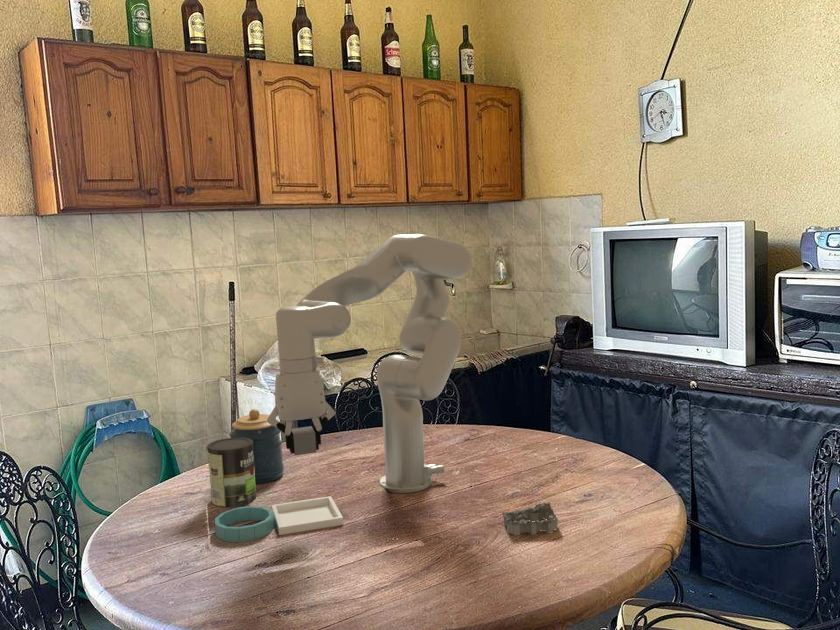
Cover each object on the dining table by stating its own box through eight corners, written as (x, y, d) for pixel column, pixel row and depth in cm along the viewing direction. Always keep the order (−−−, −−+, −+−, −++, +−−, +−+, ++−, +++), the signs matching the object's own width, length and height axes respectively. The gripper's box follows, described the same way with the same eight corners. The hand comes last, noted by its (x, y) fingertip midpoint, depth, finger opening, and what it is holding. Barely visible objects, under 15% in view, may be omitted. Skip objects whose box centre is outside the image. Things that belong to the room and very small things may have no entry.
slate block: (312, 446, 157) (311, 426, 156) (316, 452, 152) (315, 431, 152) (292, 449, 155) (290, 429, 155) (295, 455, 151) (293, 434, 150)
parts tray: (331, 505, 164) (330, 496, 163) (343, 528, 151) (343, 517, 151) (272, 515, 160) (271, 504, 159) (279, 538, 147) (279, 527, 147)
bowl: (270, 518, 158) (269, 503, 157) (276, 539, 147) (275, 522, 146) (215, 527, 154) (214, 511, 154) (217, 549, 143) (216, 532, 143)
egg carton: (552, 520, 152) (552, 501, 151) (560, 535, 144) (559, 515, 144) (501, 522, 152) (501, 503, 151) (506, 537, 144) (506, 517, 144)
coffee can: (264, 495, 172) (260, 437, 171) (245, 511, 162) (241, 450, 161) (224, 493, 174) (219, 436, 173) (203, 510, 164) (198, 449, 163)
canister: (259, 488, 177) (254, 418, 175) (221, 480, 183) (216, 412, 181) (294, 472, 188) (290, 405, 185) (258, 465, 194) (253, 401, 192)
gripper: (334, 358, 158) (339, 439, 160) (255, 366, 152) (261, 450, 155) (341, 364, 150) (346, 449, 153) (258, 373, 145) (265, 461, 148)
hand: (303, 449), depth 154 cm, fingers closed on slate block, 4 cm apart
